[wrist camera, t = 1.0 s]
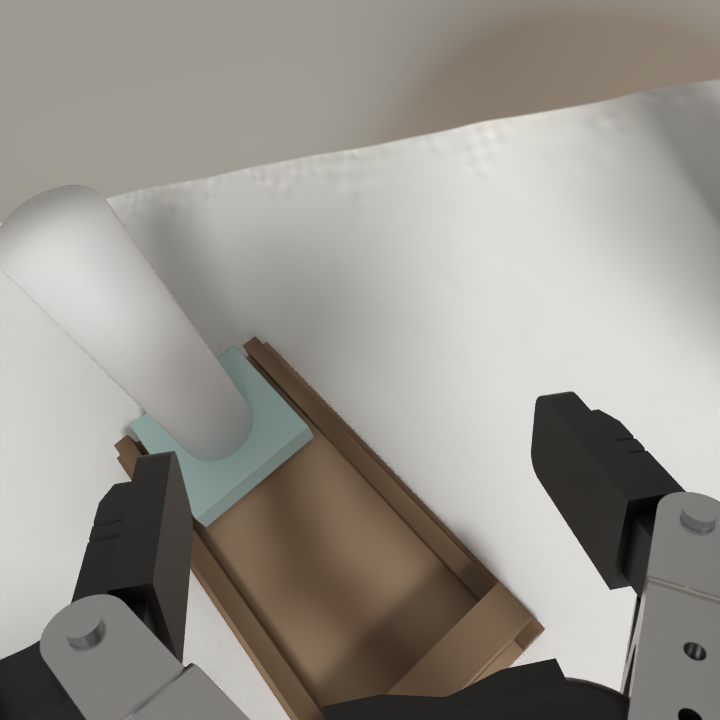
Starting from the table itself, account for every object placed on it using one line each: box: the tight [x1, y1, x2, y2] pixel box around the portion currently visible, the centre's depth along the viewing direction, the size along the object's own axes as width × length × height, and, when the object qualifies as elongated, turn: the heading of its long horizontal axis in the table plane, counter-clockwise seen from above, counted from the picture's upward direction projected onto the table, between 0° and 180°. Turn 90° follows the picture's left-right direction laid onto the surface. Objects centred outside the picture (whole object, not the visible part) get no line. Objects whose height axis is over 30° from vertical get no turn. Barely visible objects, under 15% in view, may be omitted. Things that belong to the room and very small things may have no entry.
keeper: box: [0, 185, 314, 527], centre depth 31 cm, size 8×8×18 cm
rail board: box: [114, 337, 545, 720], centre depth 34 cm, size 12×24×4 cm, turn 40°
